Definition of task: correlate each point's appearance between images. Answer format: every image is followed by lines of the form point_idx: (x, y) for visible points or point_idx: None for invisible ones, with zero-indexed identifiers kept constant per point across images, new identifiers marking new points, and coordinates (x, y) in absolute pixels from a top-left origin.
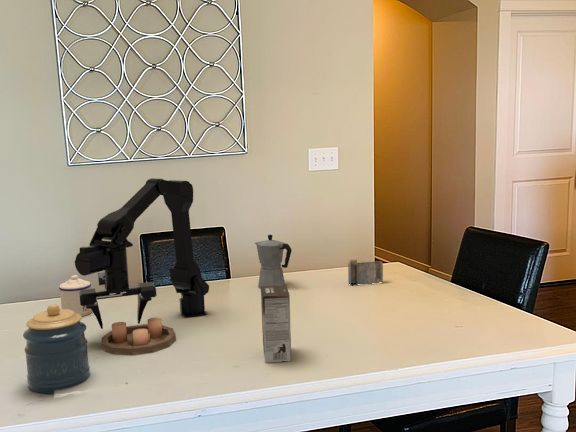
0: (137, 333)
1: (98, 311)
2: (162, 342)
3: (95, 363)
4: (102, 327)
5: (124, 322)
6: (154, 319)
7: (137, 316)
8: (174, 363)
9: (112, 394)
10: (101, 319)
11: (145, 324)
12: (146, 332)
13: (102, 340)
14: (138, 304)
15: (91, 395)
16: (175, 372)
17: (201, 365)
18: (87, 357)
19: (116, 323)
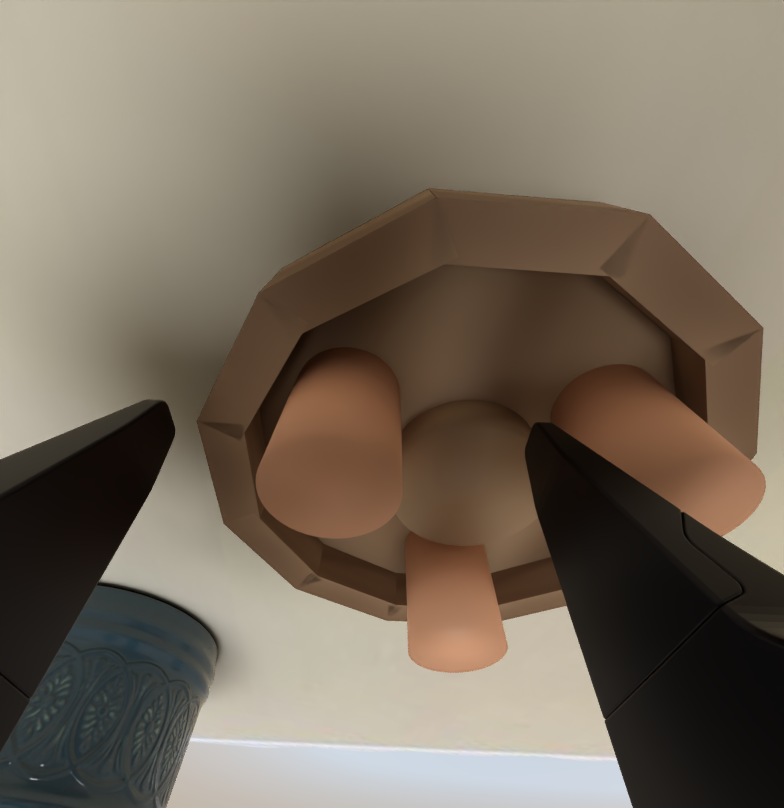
0: (429, 668)
1: (6, 718)
2: (545, 609)
3: (221, 562)
4: (167, 449)
5: (391, 473)
6: (684, 509)
7: (558, 481)
8: (514, 645)
9: (296, 710)
10: (114, 552)
11: (656, 231)
12: (486, 660)
13: (215, 474)
14: (664, 663)
15: (242, 702)
16: (486, 681)
17: (579, 673)
18: (184, 751)
19: (306, 467)
